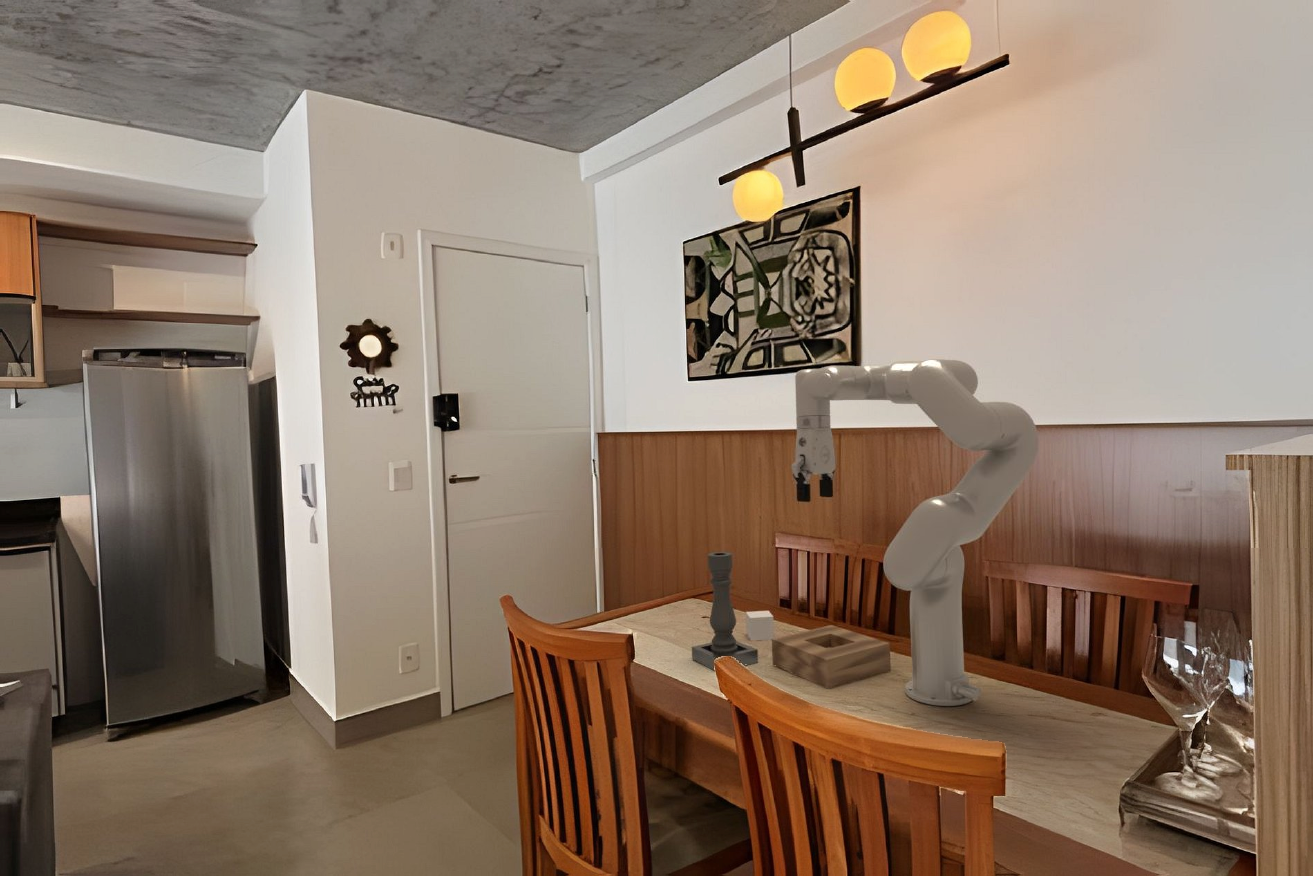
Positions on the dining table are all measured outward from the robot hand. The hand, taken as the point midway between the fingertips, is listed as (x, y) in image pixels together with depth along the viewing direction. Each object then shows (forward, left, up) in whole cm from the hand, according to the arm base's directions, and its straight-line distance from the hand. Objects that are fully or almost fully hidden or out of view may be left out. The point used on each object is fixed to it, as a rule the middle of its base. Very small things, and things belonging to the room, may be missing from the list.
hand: (815, 499), depth 162 cm
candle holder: (+14, +17, -37) cm, 43 cm away
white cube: (+24, -1, -38) cm, 44 cm away
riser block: (-4, +1, -37) cm, 37 cm away
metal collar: (+14, +17, -37) cm, 43 cm away
